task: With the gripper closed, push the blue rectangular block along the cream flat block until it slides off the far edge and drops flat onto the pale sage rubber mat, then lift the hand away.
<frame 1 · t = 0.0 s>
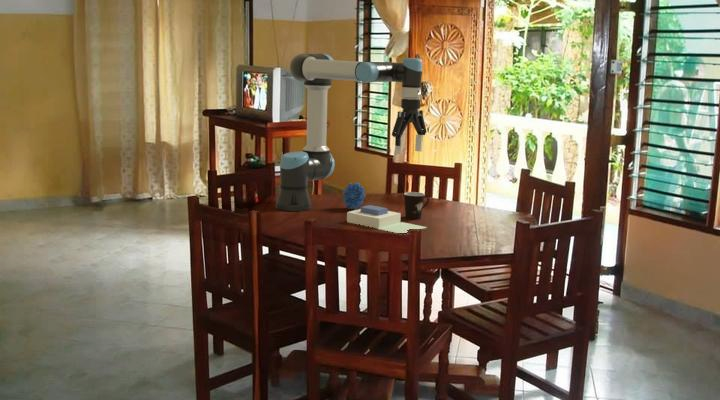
hand: (408, 152, 304), 28 cm above the table, tool pointing down, fingers open, 13 cm apart
cream flat block: (373, 222, 306), on the table
grapes: (354, 209, 330), on the table
blue rectangular block: (374, 212, 306), point 4 cm above the table, touching cream flat block
coffee mug: (416, 218, 317), on the table
mat: (402, 228, 298), on the table
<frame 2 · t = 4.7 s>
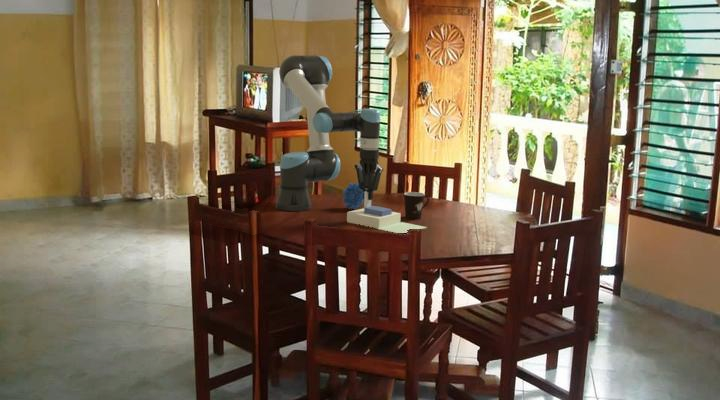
hand: (367, 207, 307), 6 cm above the table, tool pointing down, fingers closed
blue rectangular block: (377, 213, 304), point 4 cm above the table, touching gripper
everything else where it was.
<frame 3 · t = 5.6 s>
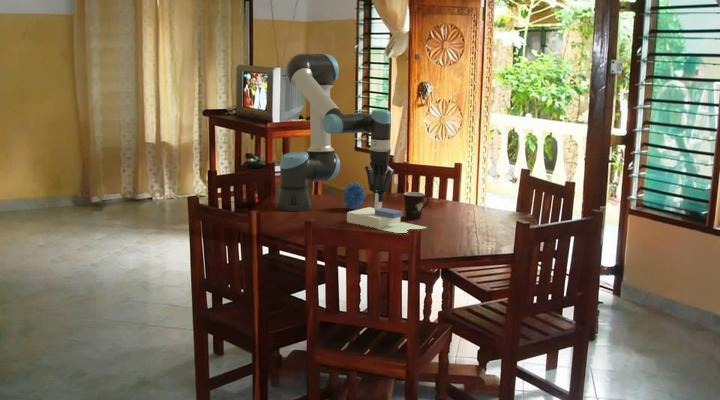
hand: (378, 209, 304), 6 cm above the table, tool pointing down, fingers closed
blue rectangular block: (388, 215, 301), point 4 cm above the table, touching gripper
everything else where it was.
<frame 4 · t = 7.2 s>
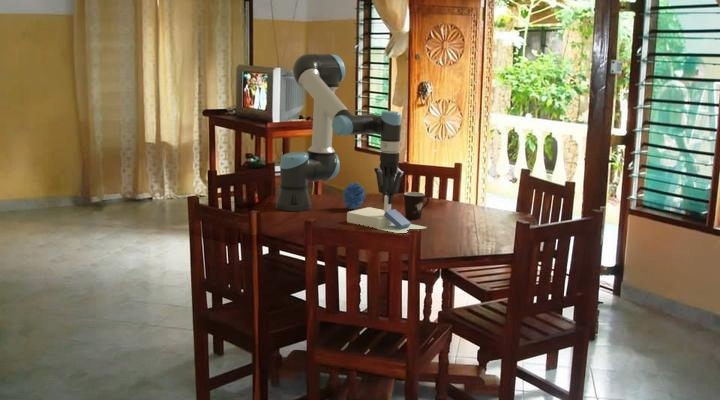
hand: (387, 211, 301), 6 cm above the table, tool pointing down, fingers closed
blue rectangular block: (396, 221, 299), point 2 cm above the table, tilted 28°, touching gripper
everything else where it was.
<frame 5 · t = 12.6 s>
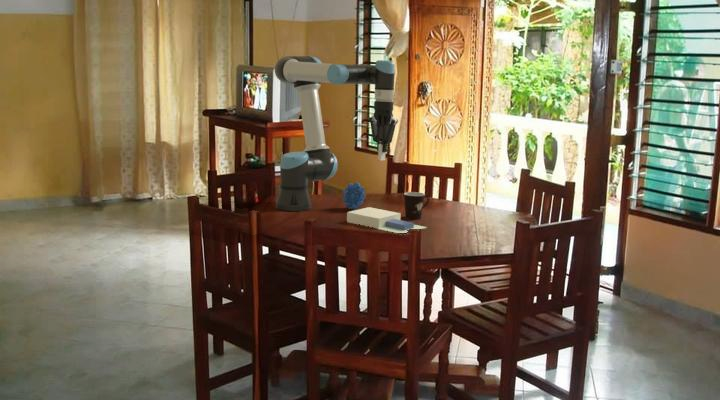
hand: (381, 160, 306), 24 cm above the table, tool pointing down, fingers closed
blue rectangular block: (399, 227, 299), resting on mat
everything else where it was.
at the end: blue rectangular block resting on mat; blue rectangular block inside the target area on the mat (1.3 cm from its centre), point 0.3 cm above the mat's base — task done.
